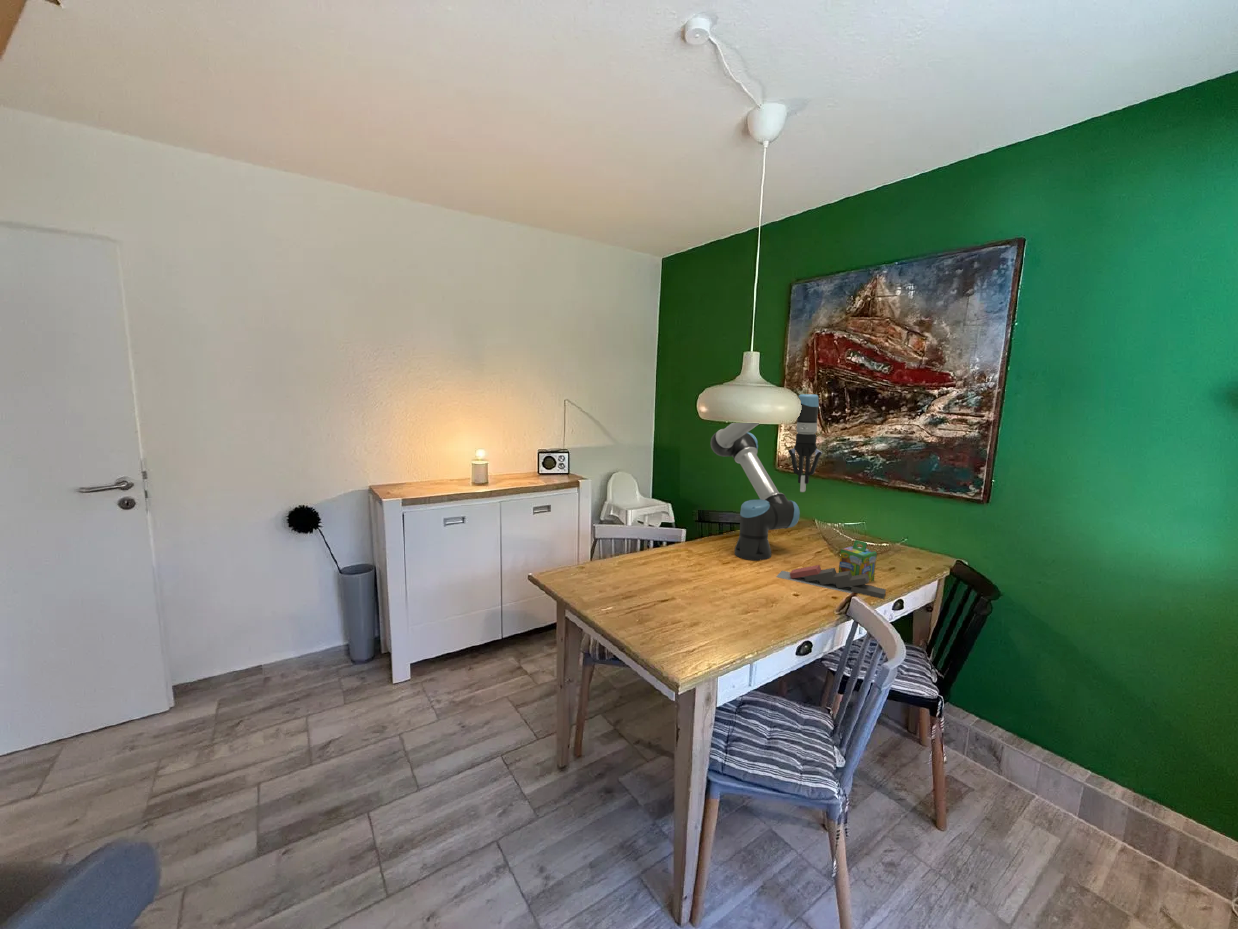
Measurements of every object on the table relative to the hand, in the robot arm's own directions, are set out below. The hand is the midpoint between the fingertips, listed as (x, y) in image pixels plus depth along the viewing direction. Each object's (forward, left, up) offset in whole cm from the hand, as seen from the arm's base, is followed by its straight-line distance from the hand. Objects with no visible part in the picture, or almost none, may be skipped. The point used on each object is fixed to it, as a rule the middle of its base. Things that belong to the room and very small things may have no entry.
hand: (802, 491), depth 192 cm
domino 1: (+3, -21, -28) cm, 35 cm away
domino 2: (+8, -21, -28) cm, 36 cm away
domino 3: (+13, -21, -28) cm, 37 cm away
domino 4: (+19, -21, -28) cm, 39 cm away
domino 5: (+23, -21, -28) cm, 42 cm away
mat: (+11, -21, -29) cm, 37 cm away
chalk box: (+23, -9, -30) cm, 39 cm away
